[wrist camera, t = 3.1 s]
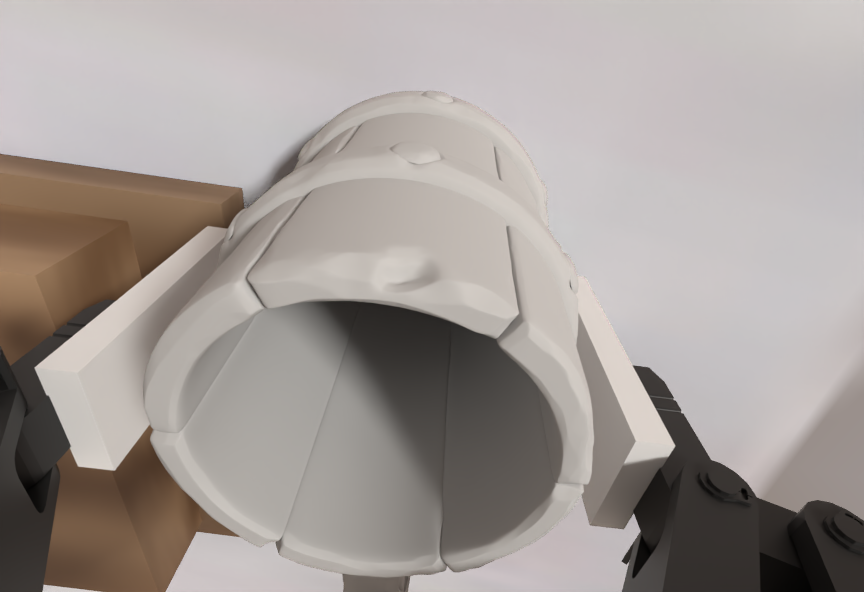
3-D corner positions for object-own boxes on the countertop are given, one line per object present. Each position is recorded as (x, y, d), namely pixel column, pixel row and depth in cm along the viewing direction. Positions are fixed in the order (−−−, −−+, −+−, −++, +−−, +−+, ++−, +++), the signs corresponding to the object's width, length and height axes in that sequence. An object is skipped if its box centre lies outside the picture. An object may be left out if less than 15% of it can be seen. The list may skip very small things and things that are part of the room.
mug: (563, 94, 13) (1012, 395, 2) (499, 398, 19) (547, 845, 9) (295, 71, 13) (-407, 268, 2) (320, 382, 19) (153, 806, 9)
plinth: (-323, 108, 14) (-662, 143, 10) (242, 188, 14) (151, 256, 10) (-65, 469, 24) (-181, 567, 19) (274, 512, 24) (233, 618, 20)
